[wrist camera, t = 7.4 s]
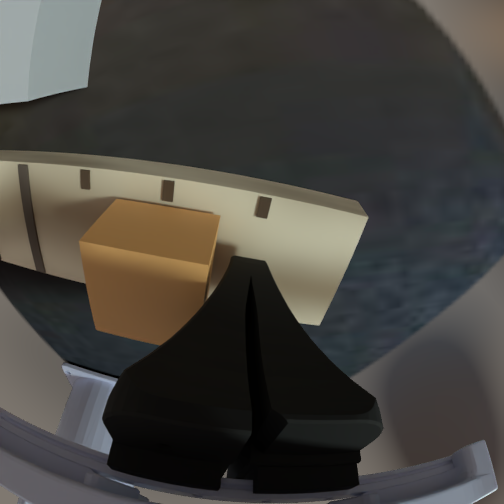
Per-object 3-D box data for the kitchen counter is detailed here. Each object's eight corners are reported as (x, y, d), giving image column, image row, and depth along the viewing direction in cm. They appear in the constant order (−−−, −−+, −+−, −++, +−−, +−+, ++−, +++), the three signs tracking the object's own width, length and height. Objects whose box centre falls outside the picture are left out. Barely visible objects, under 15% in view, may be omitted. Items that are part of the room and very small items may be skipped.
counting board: (315, 304, 15) (319, 327, 14) (-6, 240, 14) (-21, 254, 12) (357, 201, 12) (369, 218, 11) (-22, 150, 10) (-41, 160, 9)
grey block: (88, 87, 10) (27, 101, 6) (22, 91, 9) (-38, 110, 6) (102, -1, 7) (45, -18, 4) (32, 13, 7) (-28, 12, 4)
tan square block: (207, 297, 13) (197, 352, 10) (120, 280, 12) (96, 329, 10) (220, 215, 11) (208, 265, 8) (116, 198, 10) (79, 240, 8)
